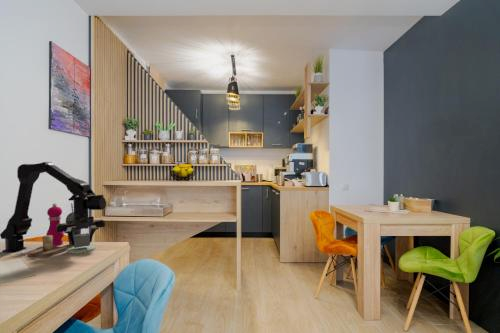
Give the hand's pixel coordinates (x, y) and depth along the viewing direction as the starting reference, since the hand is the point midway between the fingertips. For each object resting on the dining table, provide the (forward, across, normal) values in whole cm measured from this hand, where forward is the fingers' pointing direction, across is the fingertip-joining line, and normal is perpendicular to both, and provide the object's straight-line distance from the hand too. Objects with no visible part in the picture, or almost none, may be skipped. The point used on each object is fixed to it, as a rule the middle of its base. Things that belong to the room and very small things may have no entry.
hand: (81, 244), depth 133 cm
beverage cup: (+3, -2, +13) cm, 14 cm away
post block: (+2, -13, +3) cm, 13 cm away
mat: (+2, 0, 0) cm, 2 cm away
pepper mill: (+3, -10, +18) cm, 21 cm away
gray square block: (0, 0, 0) cm, 0 cm away
